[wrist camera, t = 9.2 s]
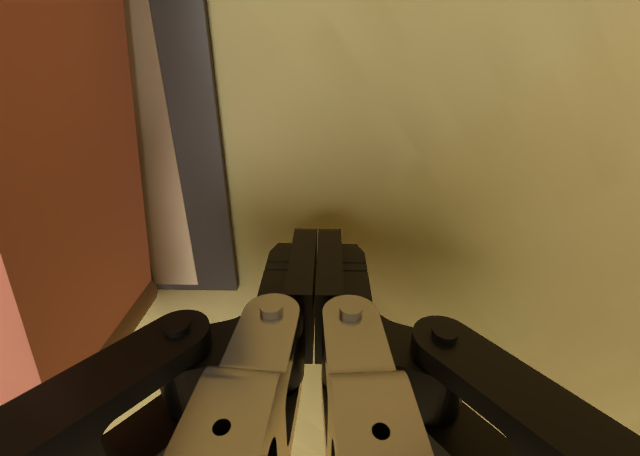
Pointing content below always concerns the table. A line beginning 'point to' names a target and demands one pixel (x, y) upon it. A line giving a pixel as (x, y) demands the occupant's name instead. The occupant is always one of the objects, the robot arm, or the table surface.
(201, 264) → the grey and brown panels
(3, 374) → the swing panel
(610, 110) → the table surface
